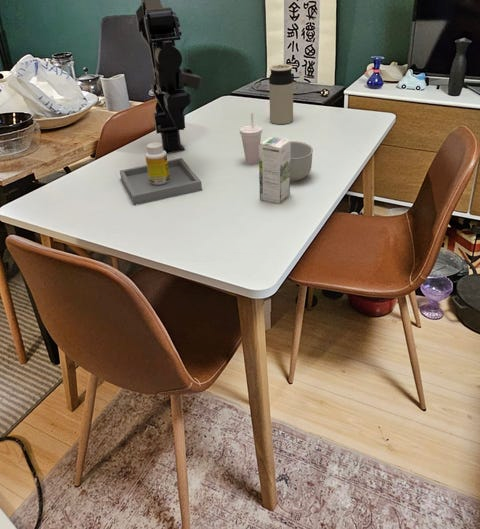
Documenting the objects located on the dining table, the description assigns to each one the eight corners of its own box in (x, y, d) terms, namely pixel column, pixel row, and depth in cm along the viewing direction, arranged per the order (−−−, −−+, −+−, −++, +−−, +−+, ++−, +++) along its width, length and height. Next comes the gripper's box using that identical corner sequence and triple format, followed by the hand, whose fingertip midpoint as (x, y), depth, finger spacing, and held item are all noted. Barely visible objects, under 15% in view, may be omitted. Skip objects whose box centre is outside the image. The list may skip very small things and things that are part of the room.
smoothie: (261, 166, 139) (259, 117, 131) (239, 165, 140) (236, 117, 133) (265, 157, 144) (263, 109, 136) (243, 157, 146) (240, 109, 138)
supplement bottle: (171, 184, 131) (165, 147, 125) (150, 186, 130) (144, 149, 124) (169, 176, 135) (164, 140, 130) (149, 178, 135) (143, 142, 129)
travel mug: (293, 124, 167) (294, 68, 157) (270, 125, 167) (269, 70, 157) (292, 116, 174) (292, 63, 164) (269, 118, 174) (268, 64, 164)
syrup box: (270, 190, 126) (268, 135, 118) (291, 194, 123) (291, 139, 115) (259, 200, 122) (257, 143, 114) (280, 204, 119) (280, 147, 111)
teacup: (315, 170, 135) (316, 142, 130) (307, 187, 126) (307, 157, 122) (267, 166, 139) (266, 139, 134) (255, 182, 131) (254, 154, 126)
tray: (121, 178, 138) (119, 170, 136) (182, 166, 143) (181, 158, 141) (134, 205, 124) (132, 196, 122) (202, 190, 129) (201, 181, 127)
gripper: (207, 66, 120) (213, 128, 129) (185, 53, 135) (192, 109, 144) (163, 72, 117) (172, 136, 126) (146, 58, 132) (155, 116, 141)
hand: (174, 123), depth 134 cm, fingers open, 9 cm apart
